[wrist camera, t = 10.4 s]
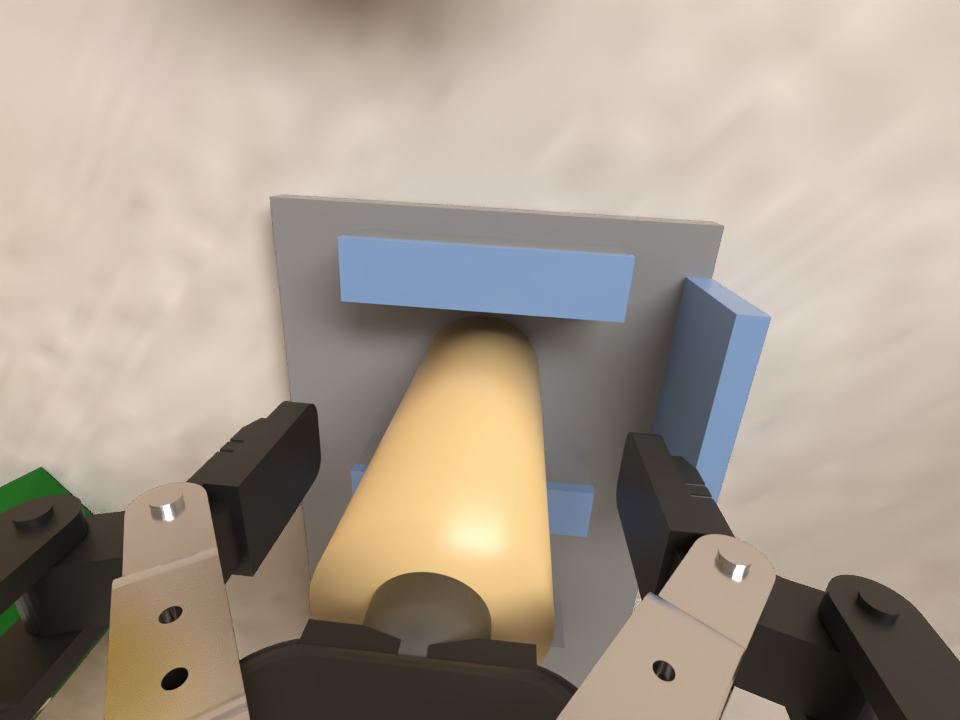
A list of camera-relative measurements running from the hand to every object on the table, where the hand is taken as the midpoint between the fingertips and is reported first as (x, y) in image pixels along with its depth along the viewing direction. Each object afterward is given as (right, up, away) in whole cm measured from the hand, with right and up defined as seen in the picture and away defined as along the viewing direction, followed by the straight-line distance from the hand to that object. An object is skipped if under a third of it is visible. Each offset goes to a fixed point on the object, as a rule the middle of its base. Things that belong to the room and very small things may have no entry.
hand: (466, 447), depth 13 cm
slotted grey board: (0, -5, +8) cm, 10 cm away
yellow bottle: (0, +2, +4) cm, 5 cm away
